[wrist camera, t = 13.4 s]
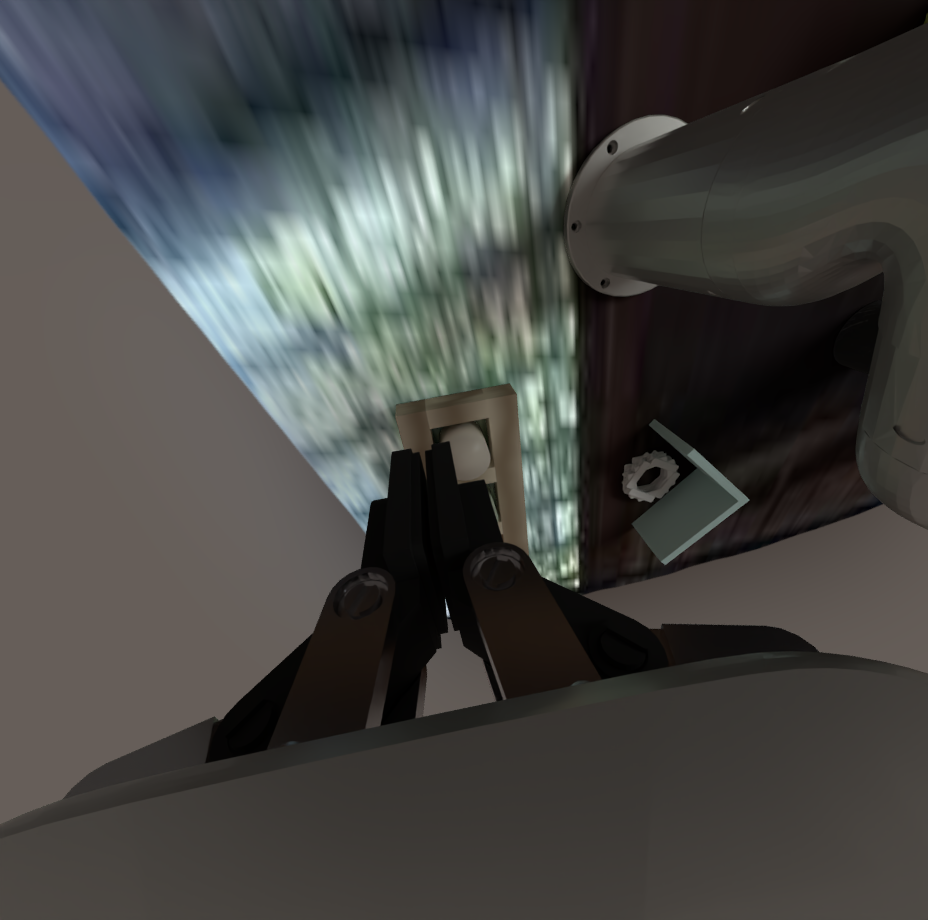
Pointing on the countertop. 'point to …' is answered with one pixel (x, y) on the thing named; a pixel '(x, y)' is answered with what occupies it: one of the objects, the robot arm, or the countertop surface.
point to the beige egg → (467, 449)
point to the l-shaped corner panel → (679, 498)
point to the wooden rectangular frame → (502, 439)
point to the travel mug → (858, 339)
